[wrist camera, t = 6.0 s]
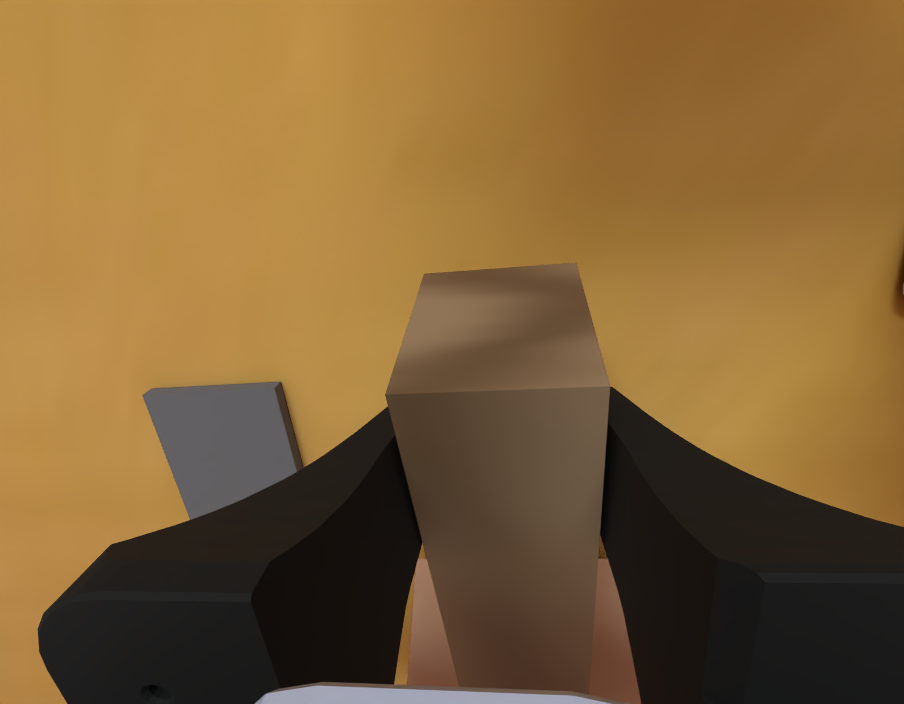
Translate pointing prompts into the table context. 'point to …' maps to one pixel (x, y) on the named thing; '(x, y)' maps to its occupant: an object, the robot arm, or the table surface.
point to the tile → (608, 648)
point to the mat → (224, 440)
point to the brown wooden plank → (507, 468)
